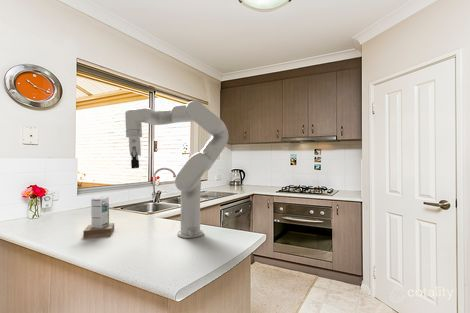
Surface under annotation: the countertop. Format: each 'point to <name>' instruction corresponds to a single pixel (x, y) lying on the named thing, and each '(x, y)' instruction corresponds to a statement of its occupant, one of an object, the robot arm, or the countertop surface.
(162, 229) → the countertop surface
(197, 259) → the countertop surface
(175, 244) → the countertop surface
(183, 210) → the robot arm
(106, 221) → the syrup box
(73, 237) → the countertop surface
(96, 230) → the walnut block
